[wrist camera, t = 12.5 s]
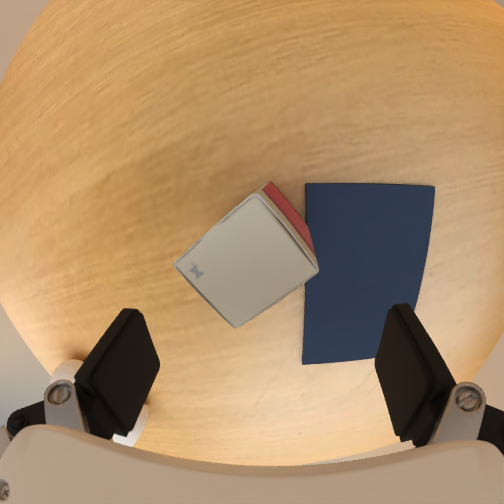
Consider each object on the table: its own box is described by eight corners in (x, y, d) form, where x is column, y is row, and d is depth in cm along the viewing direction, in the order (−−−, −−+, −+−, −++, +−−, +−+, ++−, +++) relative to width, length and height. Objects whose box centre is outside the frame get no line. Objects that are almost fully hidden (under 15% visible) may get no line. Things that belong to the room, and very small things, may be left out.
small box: (254, 269, 20) (233, 333, 13) (214, 224, 19) (169, 266, 12) (311, 227, 18) (324, 272, 11) (270, 177, 18) (255, 189, 10)
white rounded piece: (29, 405, 17) (122, 468, 20) (69, 344, 24) (155, 407, 26) (40, 400, 25) (107, 448, 28) (69, 355, 32) (133, 403, 34)
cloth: (432, 186, 17) (435, 187, 16) (399, 351, 23) (401, 353, 23) (305, 183, 18) (305, 184, 17) (301, 362, 24) (302, 365, 24)
